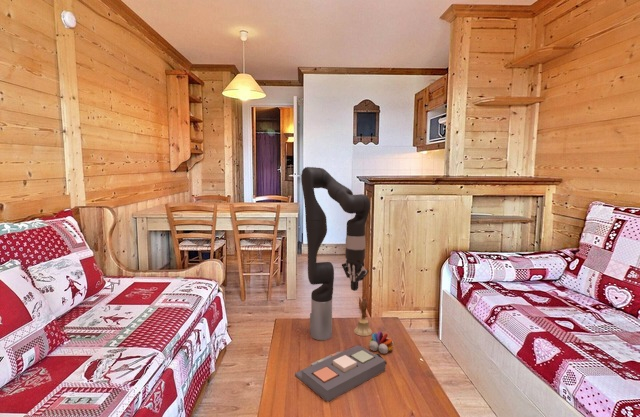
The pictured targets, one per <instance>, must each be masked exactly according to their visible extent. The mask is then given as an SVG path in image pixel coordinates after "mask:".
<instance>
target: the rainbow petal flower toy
mask: <svg viewBox="0 0 640 417" xmlns="http://www.w3.org/2000/svg"><path fill="white" fill-rule="evenodd" d="M388 336H389V334H388V333H383V332H382V331H381V330H380V331H378V332H374V333H373V332H372V334H371V339H370V340H369V346H368V347H369V348H370V351H374V352H377V351H379V353H381V354H382V355H383V354H387V353H388V352H389V351H390V352H391V351H392V350H393V346H394V341H393V339H392V338H389V337H388Z"/></svg>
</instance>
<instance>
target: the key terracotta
mask: <svg viewBox="0 0 640 417" xmlns="http://www.w3.org/2000/svg"><path fill="white" fill-rule="evenodd" d="M313 375H314V376H315V377H316V378H318V379H319V380H320V381H322V382H323V383H326V382H328V381H330V380H332V379H334V378H336V377H338V374H336V373H335V372H333V371H332V370H331V369H329V368H328V367H325V368H322V369H320V370H318V371H316V372H314V373H313Z"/></svg>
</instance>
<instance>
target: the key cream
mask: <svg viewBox="0 0 640 417" xmlns="http://www.w3.org/2000/svg"><path fill="white" fill-rule="evenodd" d="M333 366H334V367H336V368H337V369H339V370H340V371H341V372H343V373H346V372H348V371H350V370H352V369H354V368H356V367H357V362H356V361H354V360H353V359H351V358H349V357H348V356H346V355H344V356H342V357H339V358H337V359H335V360H333Z"/></svg>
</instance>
